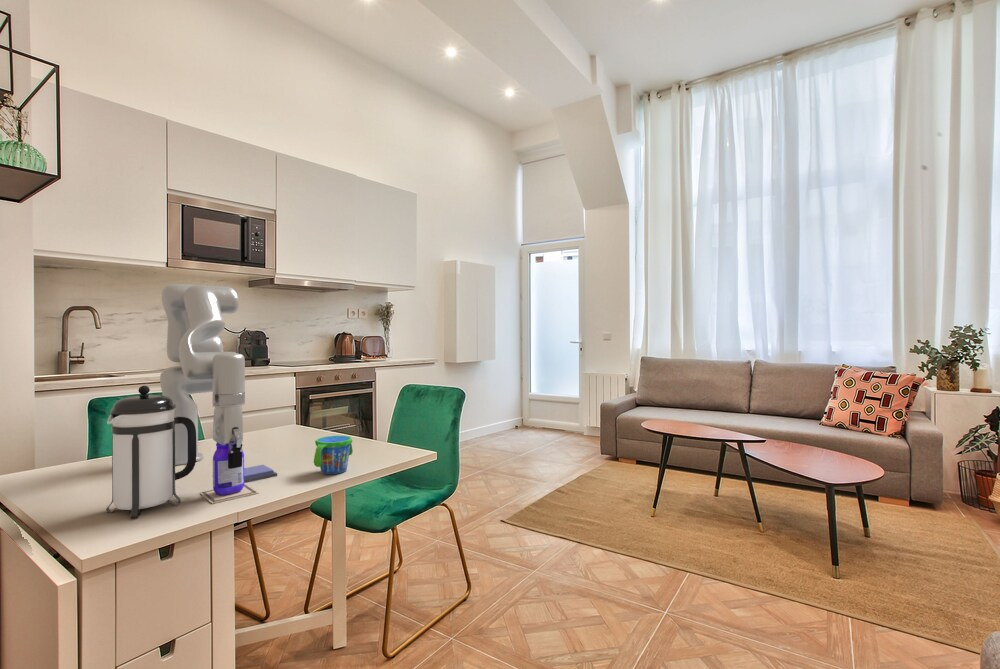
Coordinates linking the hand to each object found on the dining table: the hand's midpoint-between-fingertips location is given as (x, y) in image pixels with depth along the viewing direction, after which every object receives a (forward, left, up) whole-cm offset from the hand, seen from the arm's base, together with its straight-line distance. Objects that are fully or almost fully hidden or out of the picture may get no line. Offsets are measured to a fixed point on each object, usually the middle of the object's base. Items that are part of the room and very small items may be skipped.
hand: (229, 463), depth 127 cm
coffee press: (-4, -17, -8) cm, 19 cm away
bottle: (0, 0, -8) cm, 8 cm away
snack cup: (+1, +29, -8) cm, 30 cm away
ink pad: (-12, +10, -8) cm, 18 cm away
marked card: (0, 0, -8) cm, 8 cm away
